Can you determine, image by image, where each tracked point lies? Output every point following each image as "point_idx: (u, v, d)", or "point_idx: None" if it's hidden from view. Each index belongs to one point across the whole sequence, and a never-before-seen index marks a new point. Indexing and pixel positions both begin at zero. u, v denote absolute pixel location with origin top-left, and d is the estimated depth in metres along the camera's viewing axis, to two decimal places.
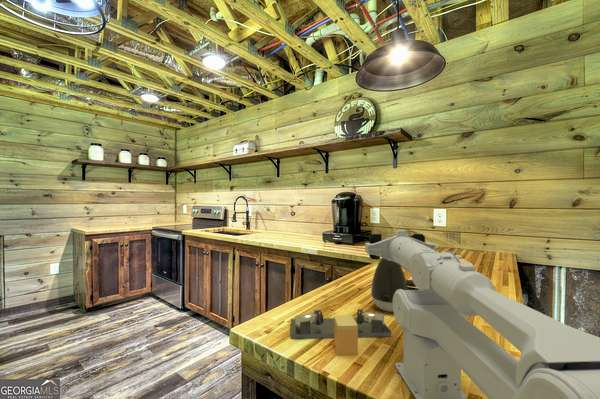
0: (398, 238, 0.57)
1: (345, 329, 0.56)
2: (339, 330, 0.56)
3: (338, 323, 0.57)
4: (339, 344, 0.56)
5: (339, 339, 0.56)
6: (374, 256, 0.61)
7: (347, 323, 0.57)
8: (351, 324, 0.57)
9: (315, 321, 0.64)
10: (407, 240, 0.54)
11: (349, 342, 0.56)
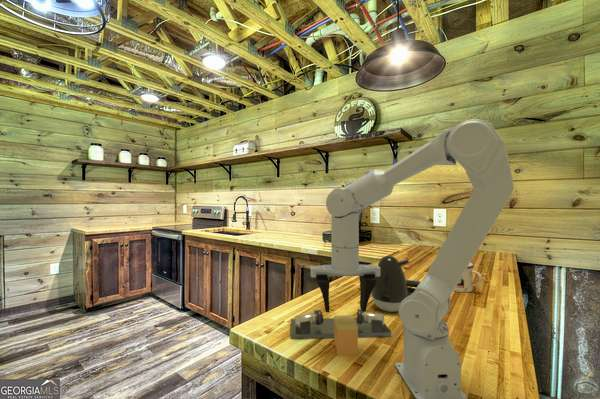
0: None
1: (345, 329, 0.56)
2: (339, 330, 0.56)
3: (338, 323, 0.57)
4: (339, 344, 0.56)
5: (339, 339, 0.56)
6: (322, 281, 0.56)
7: (347, 323, 0.57)
8: (351, 324, 0.57)
9: (315, 321, 0.64)
10: None
11: (349, 342, 0.56)
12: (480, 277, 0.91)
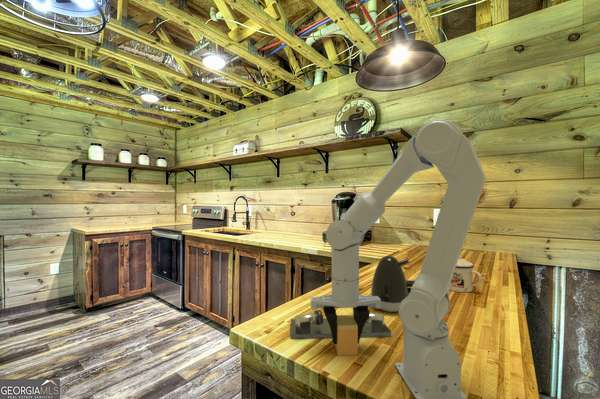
0: None
1: (345, 329, 0.56)
2: (339, 330, 0.56)
3: (338, 323, 0.57)
4: (339, 344, 0.56)
5: (339, 339, 0.56)
6: (330, 313, 0.56)
7: (347, 323, 0.57)
8: (351, 324, 0.57)
9: (315, 321, 0.64)
10: None
11: (349, 342, 0.56)
12: (480, 277, 0.91)
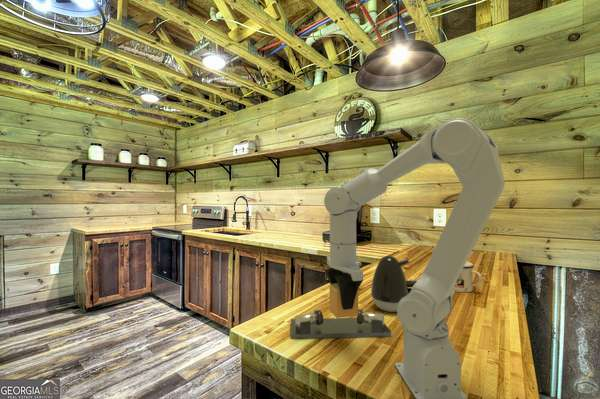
0: None
1: (332, 289, 0.61)
2: (330, 288, 0.62)
3: None
4: (330, 301, 0.62)
5: (330, 296, 0.62)
6: (327, 270, 0.64)
7: (337, 286, 0.60)
8: (337, 287, 0.59)
9: (315, 321, 0.64)
10: None
11: (333, 303, 0.60)
12: (480, 277, 0.91)
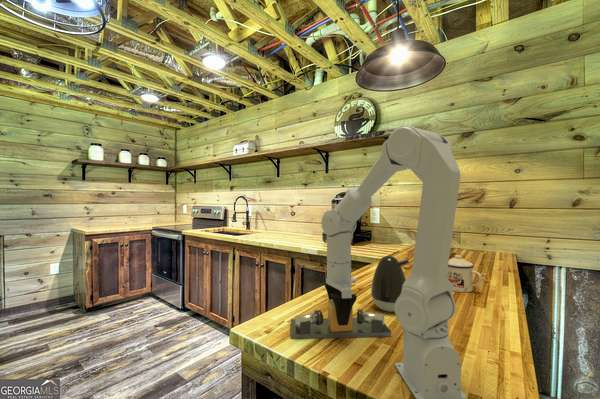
0: None
1: (329, 305, 0.66)
2: (328, 303, 0.68)
3: (332, 299, 0.68)
4: (328, 315, 0.68)
5: (328, 311, 0.68)
6: (326, 283, 0.71)
7: None
8: (332, 303, 0.65)
9: (315, 321, 0.64)
10: None
11: (329, 317, 0.65)
12: (480, 277, 0.91)
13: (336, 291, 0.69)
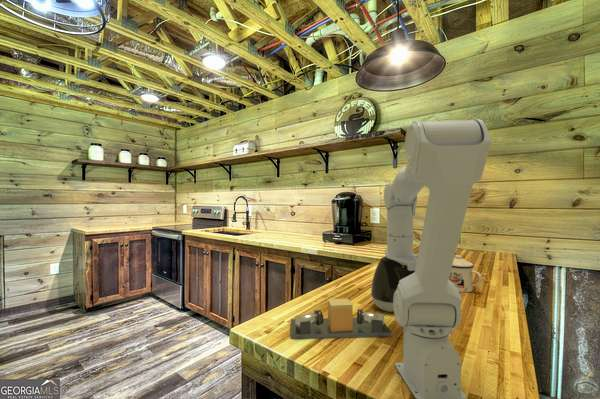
0: None
1: (329, 305, 0.66)
2: (328, 303, 0.68)
3: (332, 299, 0.68)
4: (328, 315, 0.68)
5: (328, 311, 0.68)
6: (383, 259, 0.69)
7: (334, 302, 0.66)
8: (332, 303, 0.65)
9: (315, 321, 0.64)
10: None
11: (329, 317, 0.65)
12: (480, 277, 0.91)
13: (394, 267, 0.68)
